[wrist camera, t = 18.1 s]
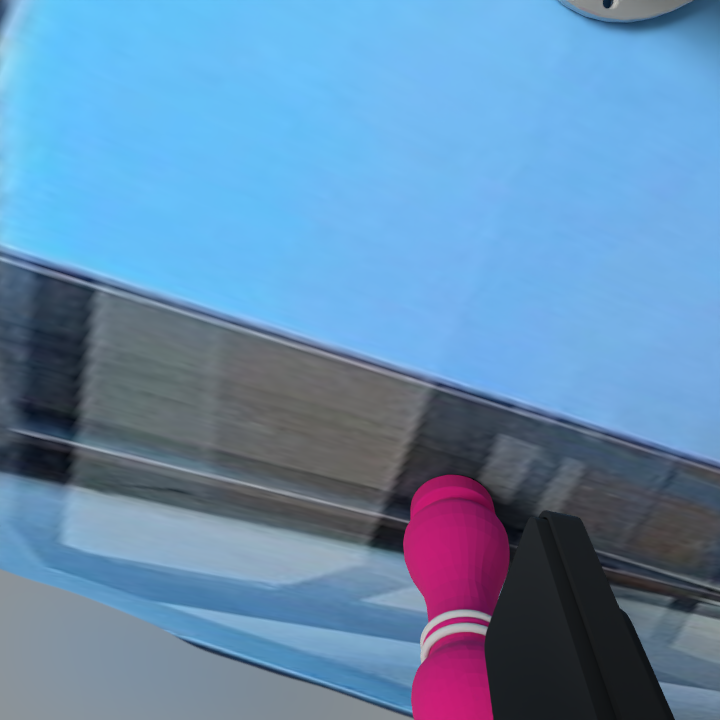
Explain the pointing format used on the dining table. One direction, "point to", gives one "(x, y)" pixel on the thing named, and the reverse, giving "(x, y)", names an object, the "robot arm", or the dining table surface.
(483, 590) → the pepper mill
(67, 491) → the dining table surface
